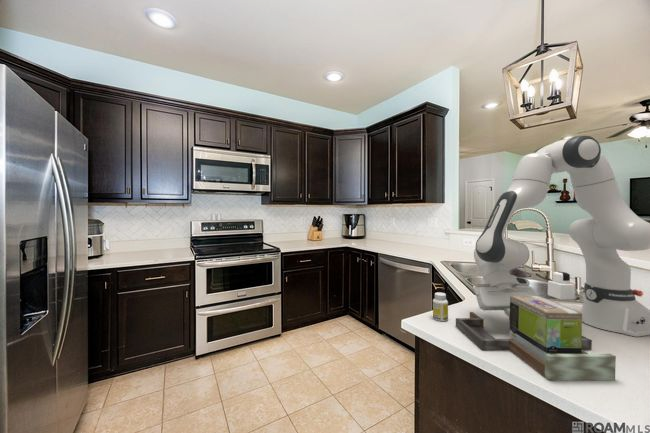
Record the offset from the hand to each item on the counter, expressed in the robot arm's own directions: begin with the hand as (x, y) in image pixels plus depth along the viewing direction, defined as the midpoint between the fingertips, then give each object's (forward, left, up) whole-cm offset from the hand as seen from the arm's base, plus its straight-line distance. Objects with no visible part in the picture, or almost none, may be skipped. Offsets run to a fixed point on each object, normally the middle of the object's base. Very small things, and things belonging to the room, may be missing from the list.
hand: (519, 322), depth 86 cm
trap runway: (0, +4, -5) cm, 7 cm away
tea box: (-1, +8, -6) cm, 10 cm away
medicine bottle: (-49, -40, -6) cm, 64 cm away
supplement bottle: (+19, -16, -6) cm, 25 cm away
